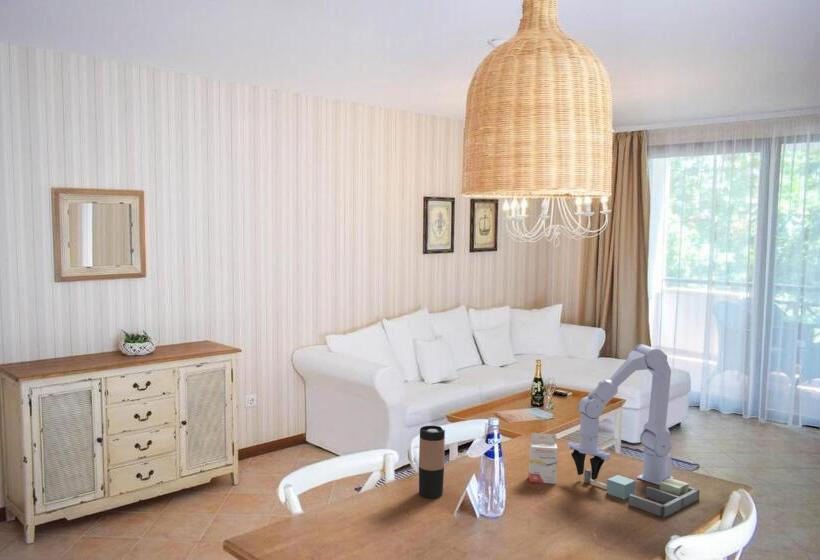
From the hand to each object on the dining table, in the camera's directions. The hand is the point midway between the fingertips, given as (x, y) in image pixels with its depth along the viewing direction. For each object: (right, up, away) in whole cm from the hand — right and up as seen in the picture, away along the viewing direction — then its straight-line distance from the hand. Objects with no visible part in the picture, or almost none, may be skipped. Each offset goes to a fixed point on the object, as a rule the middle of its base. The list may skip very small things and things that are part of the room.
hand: (587, 476), depth 213 cm
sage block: (+23, -3, -12) cm, 26 cm away
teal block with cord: (+5, -2, -5) cm, 7 cm away
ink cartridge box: (-14, -2, +1) cm, 14 cm away
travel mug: (-51, -2, -12) cm, 52 cm away
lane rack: (+19, -3, -15) cm, 25 cm away
